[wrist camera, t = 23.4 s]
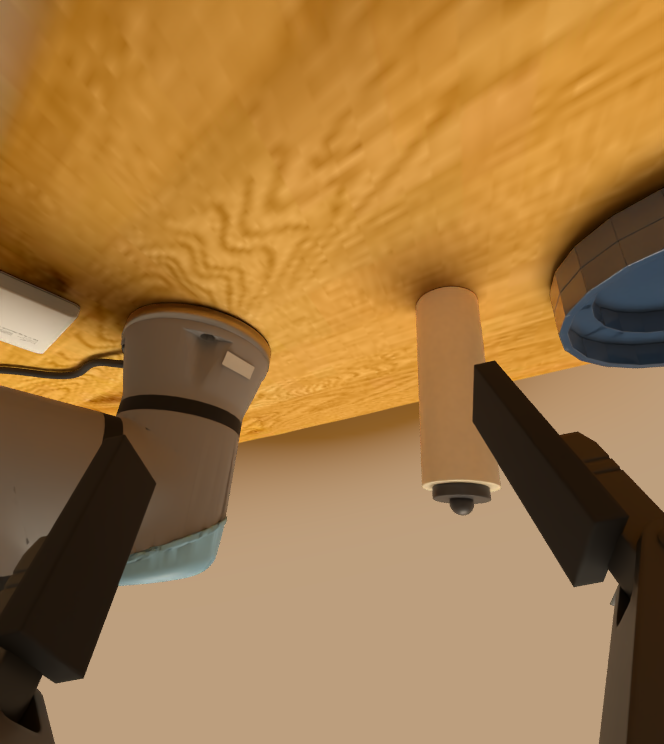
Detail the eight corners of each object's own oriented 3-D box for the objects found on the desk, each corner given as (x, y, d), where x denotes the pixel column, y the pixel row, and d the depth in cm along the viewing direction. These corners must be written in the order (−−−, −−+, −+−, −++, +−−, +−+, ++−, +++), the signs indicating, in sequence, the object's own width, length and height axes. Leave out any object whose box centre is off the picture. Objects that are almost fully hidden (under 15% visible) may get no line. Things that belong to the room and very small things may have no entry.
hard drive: (82, 305, 38) (47, 344, 45) (-24, 259, 32) (-43, 311, 40) (76, 319, 37) (41, 356, 45) (-34, 274, 32) (-51, 324, 39)
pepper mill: (419, 325, 37) (427, 518, 29) (411, 291, 32) (418, 508, 25) (477, 318, 35) (502, 521, 27) (478, 281, 31) (507, 511, 23)
